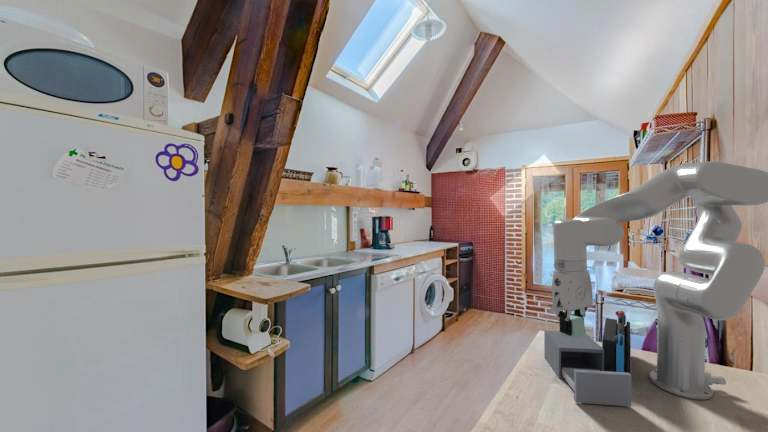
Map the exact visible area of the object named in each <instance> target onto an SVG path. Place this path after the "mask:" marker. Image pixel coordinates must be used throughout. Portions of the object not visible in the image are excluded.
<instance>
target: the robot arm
mask: <svg viewBox="0 0 768 432" xmlns="http://www.w3.org/2000/svg"><path fill="white" fill-rule="evenodd" d="M688 197H690V198H691V199H692V202H693V204H694V205H695V208H696V210H697V212H696V213H697V219H696V222H695V225H694V226H693V229H692V230H691V232H690V234H689V235H688V237H687V239H686V241H685V242H684V244H683V245H682V247H681V249H680V252H679V254H678V262H679V264H680V265H681V266H682V267H683V268H685V269H687V270H689V271H691V272H696V273H699V274H700V273H701V274H703V275H708V276H711V277H710V278H707V277H703V276H701V275H695V274H691V273H688V272H687V273H686V272H683V271H665V272H663V273H661V274H659V275H657V277H655V279H654V282H653V289H652V290H653V295H654V298H655V303H656V309H657V310H656V311H657V332H656V333H657V338H656V339H657V340H656V341H657V343H656V348H657V349H656V369H655V370H652V371H650V372H649V379H650V381H651V382H652V383H653V384H654V385H655V386H657V387H658V388H660V389H662V390H664V391H666V392H668V393H671V394H674V395H676V396H680V397H683V398H687V399H692V400H699V401H700V400H708V399H711V398H712V397H713V395H714V393H713V392H714V391H713V389H712V387H710V386H712V385H724V386H725V385H727V381H726V379H725V378H724V377H723V376H717V375H716V376H715V375H713V376H712V373H710V372H706V369H705V368H706V335H707V330H706V329H707V328H706V324H705V321H704V317H705V318H708V319H712V320H716V321H728V320H731V319H732V318H735V317H736V316H737V315H738V314H739V313H740V312H741V310H742V309H743V308H744V306H745V305H746V303H747V301H748V300H749V298H750V296H751V294H752V293H753V291H754V290H755V288H756V286H757V285H758V282H759V281H760V279H761V277H762V276H763V274H764V271H765V267H766V266H765V265H766V263H765V258H764V254H763V253H762V251H761V250H760V249H758V247H756V246H754V245H752V244H749V243H745V242H741V241H737V240H738V238H739V236H740V234H741V232H742V228H743V223H742V220H741V218H740V216H739V215H738V213H737V212H736V210H735V208H734V207H733V206H759V205H764V204H766V203H768V172H767V171H765V170H762V169H759V168H758V169H757V168H752V167H747V166H741V165H739V164H738V165H737V164H732V163H729V162H728V163H727V162H721V161H714V160H713V161H701V162H691V163H684V164H677V165H673V166H670V167H668V168H666V169H665V170H662V171H661V172H659V173H658V174H656V175H654V176H653V177H651V178H650V179H648V180H646V181H645V182H643V183H641V184H640V185H638V186H636V187H635V188H633V189H631V190H630V191H627V192H625V193H621V194H618V195H616V196H614V197H612V198H609V199H607V200H604V201H602V202H598V203H596V204H594V205H593V206H590V207H589V208H587V209H586V210H584V211H582V212H580V213H579V214H578V215H576V216H574V218H563V219H557V220H555V221H554V222H553V225H552V227H553V228H552V230H553V260H554V262H553V263H554V264H553V267H554V270H553V274H552V281H551V303H552V304H551V307H550V312H551V313H554V314H555V315H556V316H557V319H558V318H560V327H559V331H560V332H562V333H564V334H567V335H569V336H571V335H572V321H570V315H572V316H579V317H583V321H584V322H585V317H586V314H587V313H586V312H587V310H588V309H589V307H591V306H593V304H594V298H593V297H594V296H593V295H594V294H593V286H592V285H593V284H592V280H591V275H590V272H589V269H588V254H587V253H588V252H587V246H592V247H612V246H614V245H616V244H618V243H620V242H621V241H622V240H623V238H624V235H625V230H624V227H623V225H622V224H621V223H626V222H633V221H640V220H645V219H650V218H653V217H655V216H657V215H659V214H661V213H662V212H664V211H665V210H667V209H668V208H670V207H672V206H674V205H675V204H677V203H679V202H680V201H682V200H683V199H686V198H688ZM564 311H565V312H564ZM571 312H572V313H571Z"/></svg>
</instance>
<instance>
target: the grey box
mask: <svg viewBox="0 0 768 432" xmlns="http://www.w3.org/2000/svg"><path fill="white" fill-rule="evenodd" d="M543 336H544V343H543V345H544V346H543V347H544V350H543V351H544V356H543V357H544V359H545V360H547V361H546V363H548V364H550V365H549V366H550V367H552V368H551V369H552V371H553V372H554V373H555V375H556V376H557V377H558V379H563V380H565V378H564V377H563V375H562V374H561V367H564V368H581V369H599V370H600V371H604V349H603V348H602V346H601V345H599V343H597V342H596V341H595V340H593V338H591V337H590V336H589V334H587V333H586V337H582V338H579V339H572V338H568V337H563V336H561V333H560V330H544V335H543Z"/></svg>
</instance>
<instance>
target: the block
mask: <svg viewBox="0 0 768 432" xmlns="http://www.w3.org/2000/svg"><path fill="white" fill-rule="evenodd" d="M583 318H584V317H579V316H572V314H570V321H572V335H571V336H569V335H567V334H564V333H562V332H560V333H561V336H563V337H568V338H572V339H579V338H582V337H586V334H587V333H586V326H585V320H584V321H583ZM557 321H558V326H559V328H560V318H558V317H557Z"/></svg>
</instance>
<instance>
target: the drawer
mask: <svg viewBox="0 0 768 432" xmlns="http://www.w3.org/2000/svg"><path fill="white" fill-rule="evenodd" d="M561 374H562V375H563V377H564V378H565V379H564V380H565V381H566V383H568V385H569V386H570V387H571V389H572V391H573V401H575V403H576V404H577V403H579V404H592V405H604V406H605V405H606V406H618V407H632V374H631V373H630V374H629V373H626V372H609V371H600V370H599V369H581V368H564V367H561Z"/></svg>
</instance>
